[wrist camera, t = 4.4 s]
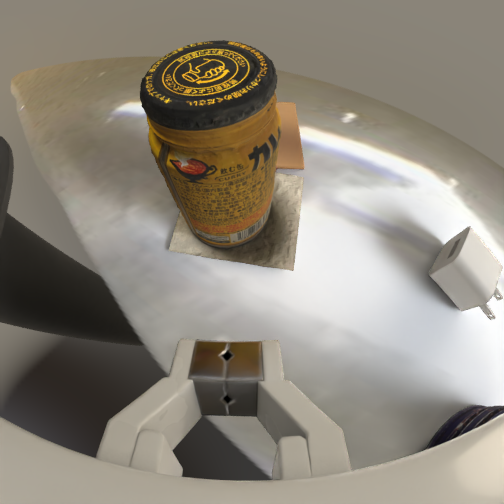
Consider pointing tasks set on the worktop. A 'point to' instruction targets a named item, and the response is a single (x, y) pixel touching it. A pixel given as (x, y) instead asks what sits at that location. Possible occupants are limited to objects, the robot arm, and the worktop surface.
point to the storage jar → (465, 422)
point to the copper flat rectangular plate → (289, 138)
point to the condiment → (223, 153)
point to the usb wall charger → (467, 272)
